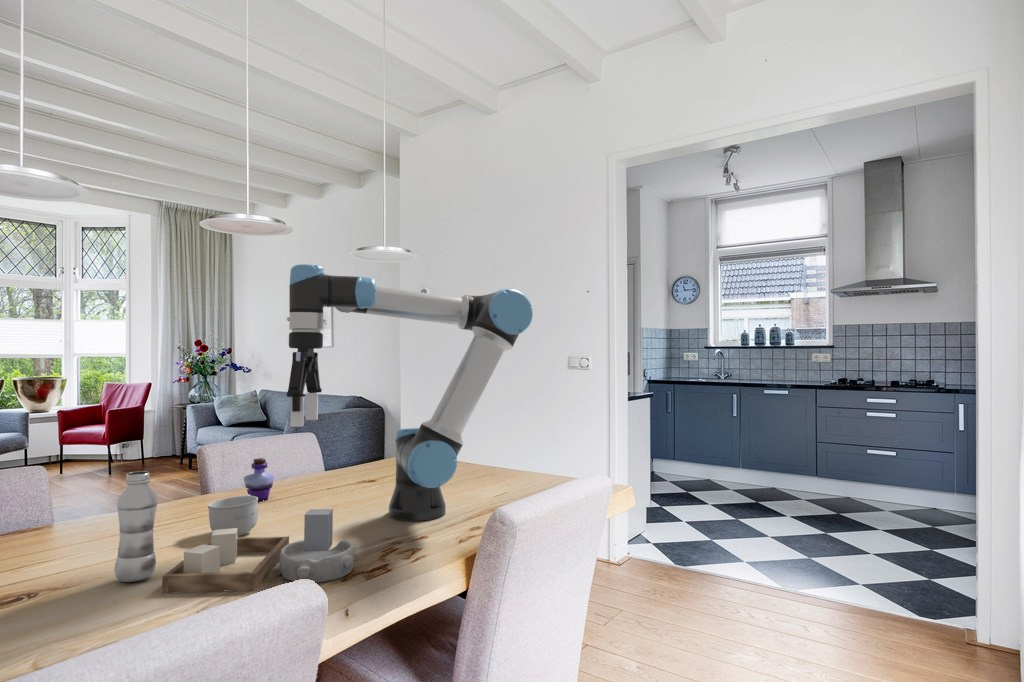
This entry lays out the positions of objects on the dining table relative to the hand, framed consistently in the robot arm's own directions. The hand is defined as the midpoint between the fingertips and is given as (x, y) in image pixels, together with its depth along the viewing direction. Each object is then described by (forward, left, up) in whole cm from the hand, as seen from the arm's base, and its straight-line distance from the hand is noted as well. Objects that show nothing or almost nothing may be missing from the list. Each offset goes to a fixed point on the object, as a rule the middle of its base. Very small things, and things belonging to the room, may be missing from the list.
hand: (304, 423), depth 137 cm
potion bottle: (+22, -39, -27) cm, 52 cm away
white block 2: (+12, +14, -27) cm, 33 cm away
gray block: (-8, +22, -22) cm, 32 cm away
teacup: (+17, -7, -27) cm, 33 cm away
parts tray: (+9, +19, -27) cm, 34 cm away
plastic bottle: (+25, +23, -27) cm, 43 cm away
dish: (-8, +22, -27) cm, 36 cm away
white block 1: (+12, +25, -27) cm, 38 cm away
